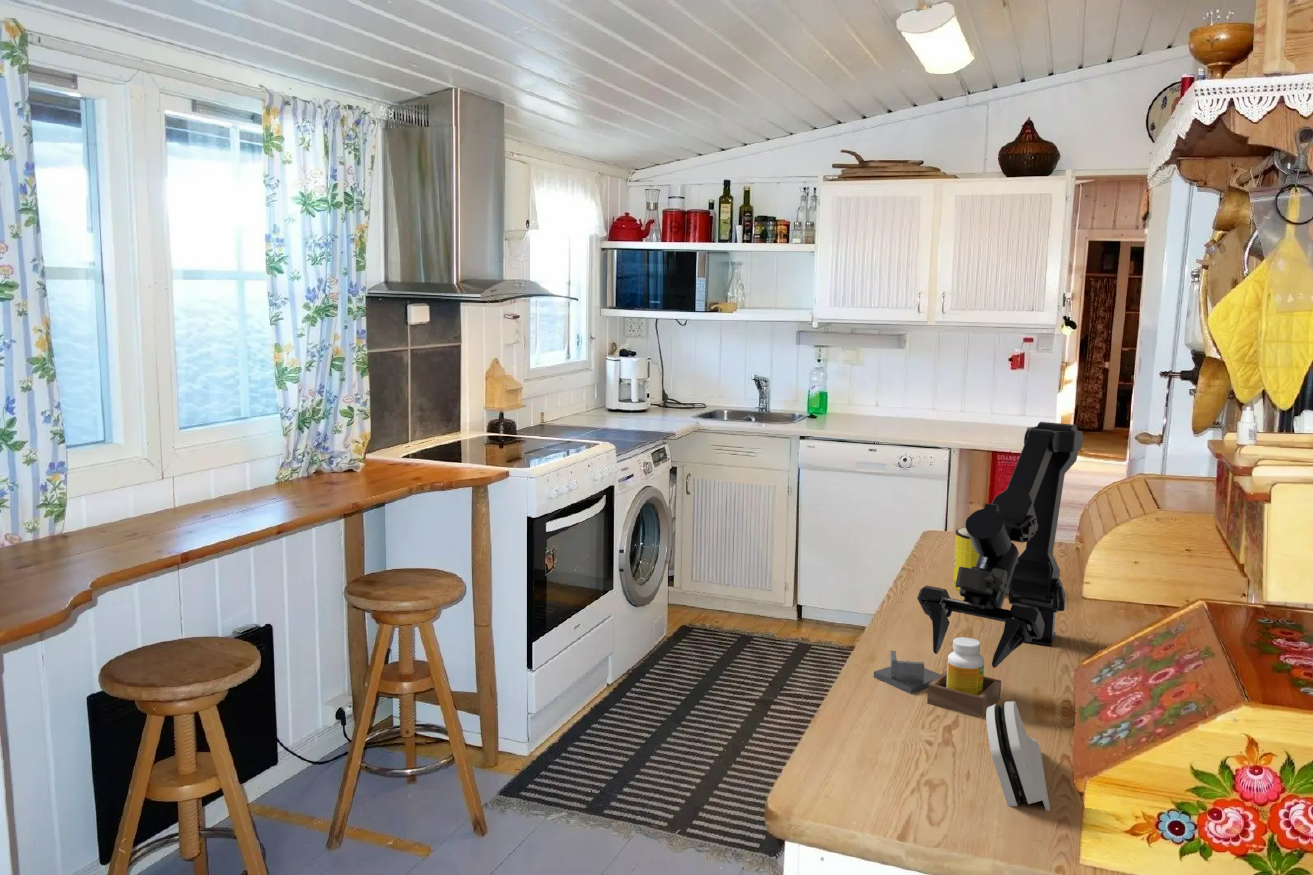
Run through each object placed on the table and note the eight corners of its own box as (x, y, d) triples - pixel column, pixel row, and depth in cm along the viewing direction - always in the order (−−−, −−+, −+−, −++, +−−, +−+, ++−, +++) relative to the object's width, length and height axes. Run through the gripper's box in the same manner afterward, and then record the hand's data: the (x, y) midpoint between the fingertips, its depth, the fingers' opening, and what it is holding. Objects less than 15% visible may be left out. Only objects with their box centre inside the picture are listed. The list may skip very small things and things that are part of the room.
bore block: (948, 685, 164) (949, 667, 163) (1000, 698, 159) (1001, 680, 158) (927, 703, 157) (927, 684, 157) (980, 717, 152) (981, 698, 152)
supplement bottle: (983, 710, 155) (987, 649, 153) (947, 707, 156) (949, 646, 154) (980, 695, 160) (983, 636, 159) (944, 692, 161) (947, 634, 160)
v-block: (907, 666, 172) (908, 643, 171) (944, 682, 165) (946, 658, 165) (873, 677, 167) (874, 654, 167) (911, 693, 161) (912, 669, 160)
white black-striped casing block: (1050, 812, 126) (1025, 737, 125) (1011, 818, 128) (986, 745, 127) (1040, 751, 142) (1018, 684, 141) (1006, 757, 143) (984, 691, 143)
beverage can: (1003, 586, 215) (1006, 530, 213) (991, 597, 207) (994, 540, 205) (960, 579, 220) (962, 525, 218) (947, 590, 212) (950, 534, 210)
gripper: (924, 536, 163) (892, 621, 156) (1043, 556, 152) (1014, 648, 145) (941, 572, 171) (911, 655, 164) (1056, 593, 160) (1029, 683, 153)
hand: (963, 659), depth 156 cm, fingers open, 9 cm apart
